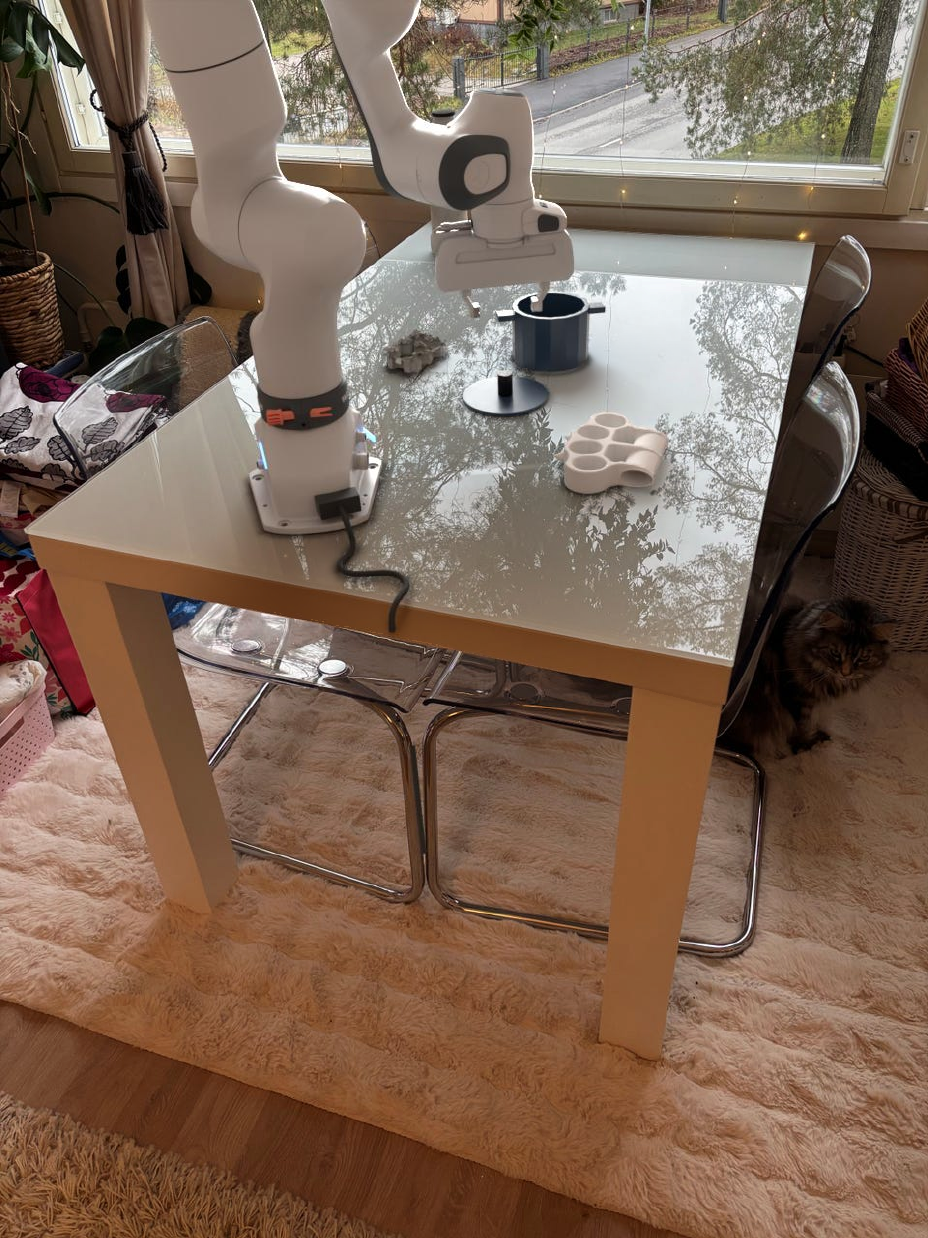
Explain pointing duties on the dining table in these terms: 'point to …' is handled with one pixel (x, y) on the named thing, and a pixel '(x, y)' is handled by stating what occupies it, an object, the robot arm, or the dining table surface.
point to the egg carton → (422, 347)
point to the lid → (505, 395)
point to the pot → (551, 331)
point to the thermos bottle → (440, 213)
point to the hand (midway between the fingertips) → (505, 313)
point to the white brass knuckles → (611, 454)
